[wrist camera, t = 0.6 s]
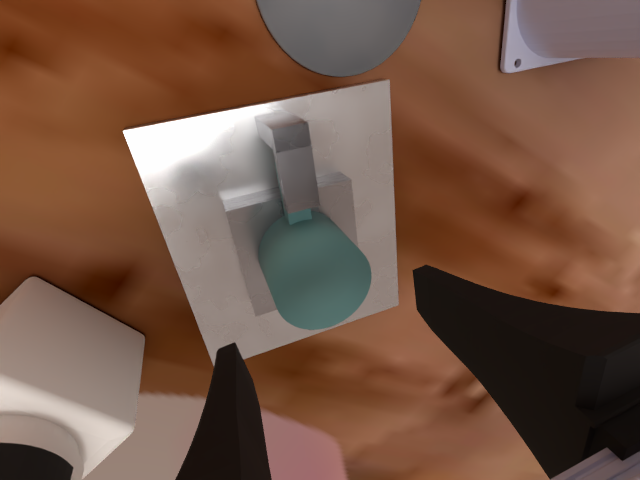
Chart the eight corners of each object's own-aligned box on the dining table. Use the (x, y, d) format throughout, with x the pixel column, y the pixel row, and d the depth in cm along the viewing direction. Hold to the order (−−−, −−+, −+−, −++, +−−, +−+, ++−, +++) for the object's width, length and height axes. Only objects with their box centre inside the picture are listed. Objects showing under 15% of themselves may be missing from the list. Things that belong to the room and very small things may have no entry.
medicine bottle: (-58, 361, 20) (-306, 681, 10) (33, 271, 19) (-127, 507, 9) (69, 408, 24) (-13, 675, 13) (148, 334, 23) (124, 550, 13)
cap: (330, 147, 19) (362, 167, 16) (345, 274, 23) (374, 311, 20) (235, 169, 18) (248, 195, 15) (268, 298, 22) (284, 342, 19)
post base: (382, 78, 21) (434, 84, 17) (393, 299, 29) (430, 340, 25) (124, 128, 18) (108, 149, 14) (214, 360, 26) (221, 420, 21)
